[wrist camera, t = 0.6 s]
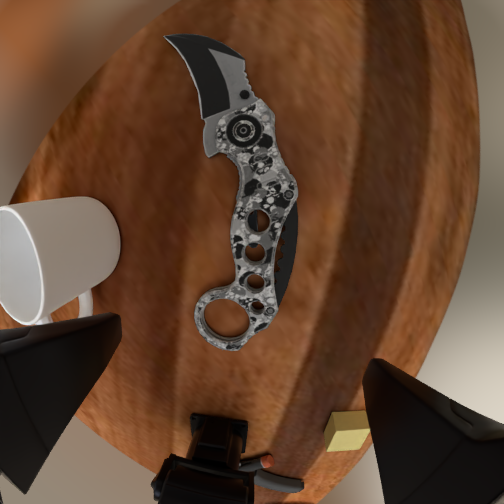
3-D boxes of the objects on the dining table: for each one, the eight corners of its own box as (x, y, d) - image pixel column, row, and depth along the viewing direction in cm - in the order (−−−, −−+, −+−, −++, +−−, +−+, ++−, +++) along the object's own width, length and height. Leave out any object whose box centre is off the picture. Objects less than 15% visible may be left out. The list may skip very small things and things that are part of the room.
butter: (354, 431, 25) (359, 449, 22) (323, 433, 25) (326, 451, 22) (365, 410, 24) (371, 428, 21) (331, 411, 24) (336, 431, 22)
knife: (160, 33, 16) (276, 11, 15) (167, 40, 18) (277, 20, 16) (187, 350, 23) (302, 352, 21) (193, 341, 24) (301, 342, 23)
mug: (138, 318, 24) (78, 381, 13) (77, 313, 24) (15, 359, 14) (118, 189, 21) (30, 195, 11) (56, 202, 22) (-22, 215, 12)
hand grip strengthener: (306, 493, 26) (269, 448, 24) (229, 503, 28) (176, 459, 26) (305, 482, 29) (269, 434, 26) (231, 493, 30) (180, 447, 28)
